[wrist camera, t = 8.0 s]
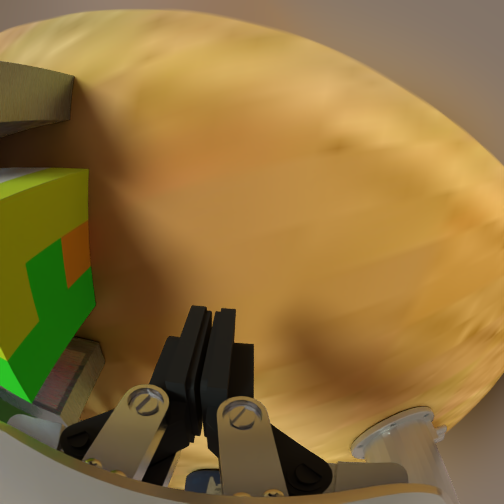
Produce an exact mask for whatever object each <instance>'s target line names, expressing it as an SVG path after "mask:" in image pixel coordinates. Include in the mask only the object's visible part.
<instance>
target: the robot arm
mask: <svg viewBox="0 0 504 504" xmlns="http://www.w3.org/2000/svg"><path fill="white" fill-rule="evenodd" d="M235 316H236V309H226V308H221V312H218V311H216V312H215V316H214V321H213V326H212V311H207V307H204V306H194V305H192V306H191V309H190V312H189V314H188V317H187V320H186V323H185V325H184V328H183V331H182V334H181V336H180V337H174V336H169V337H168V338H167V340H166V343H165V345H164V348H163V350H162V353H161V355H160V357H159V360H158V362H157V365H156V367H155V370H154V373H153V375H152V378H151V380H150V383H149V384H142V385H138V386H134V387H133V388H131V389H129V390H128V391H127V392H126V393H125V394H124V396H123V397H122V399H121V400H120V402H119V403H118V405H117V407H116V408H115V409H113V410H110V411H108V412H105V413H103V414H100V415H97V416H94V417H92V418H89V419H86V420H83V421H81V422H78V423H75V424H72V425H70V426H68V427H65V426H64V425H63V424H62V423H57V422H52V421H47V420H43V419H39V418H35V417H31V416H27V415H23V414H17V415H14V416H12V417H11V418H10V419H9V420H8V422H7V424H6V423H4V422H2V421H0V504H460V502H459V500H458V497H457V494H456V492H455V489H454V486H453V484H452V481H451V479H450V476H449V474H448V472H447V469H446V467H445V465H444V462H443V460H442V458H441V455H440V453H439V451H438V448H437V446H436V444H435V443H437V442H439V441H442V440H443V439H444V436H445V434H444V433H445V432H446V430H447V427H446V425H441V426H439V427H437V428H434V426H433V424H432V421H433V419H434V414H433V412H432V410H431V408H429V407H416V408H412V409H409V410H406V411H403V412H400V413H398V414H396V415H393V416H391V417H389V418H387V419H385V420H383V421H382V422H380V423H378V424H376V425H374V426H373V427H371V428H370V429H368V430H367V431H365V432H364V433H363V434H361V435H360V436H359V437H358V438H357V439H356V440H355V441H354V442H353V444H352V446H351V453H352V456H354V457H355V458H358V459H365V460H366V463H359V462H337V464H333V463H327V462H325V461H324V460H323V459H321V458H320V457H318V456H317V455H315V454H314V453H312V452H310V451H309V450H307V449H306V448H304V447H303V446H301V445H300V444H298V443H297V442H296V441H294V440H293V439H291V438H290V437H288V436H287V435H286V434H284V433H283V432H281V431H280V430H279V429H277V428H276V427H275V426H273V425H272V424H270V420H269V416H268V412H267V410H266V408H265V406H264V405H263V404H262V403H261V402H259V401H257V400H256V399H254V344H244V343H234V334H235ZM202 423H203V427H204V436H205V437H207V443H208V449H209V450H210V451H211V452H213V453H214V454H215V455H216V456H217V457H218V461H219V472H220V481H221V490H222V495H214V494H205V493H197V492H190V491H184V490H178V489H173V488H168V484H169V482H170V479H171V477H172V474H173V472H174V469H175V467H176V464H177V462H178V459H179V457H180V454H181V450H182V449H184V448H185V447H187V446H189V443H190V442H191V443H194V438H195V436H200V435H201V429H202Z"/></svg>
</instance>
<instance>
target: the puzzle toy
mask: <svg viewBox="0 0 504 504" xmlns="http://www.w3.org/2000/svg"><path fill="white" fill-rule="evenodd" d="M88 178H89V169H79V168H0V386H2V387H4V388H5V389H7V390H8V391H10V392H12V393H13V394H15V395H17V396H19V397H20V398H22V399H24V400H26V401H28V402H29V403H31V404H32V402H33V401H34V399H35V397H36V395H37V393H38V392H39V390H40V388H41V387H42V385H43V383H44V382H45V380H46V378H47V377H48V375H49V373H50V372H51V370H52V368H53V367H54V365H55V364H56V362H57V361H58V359H59V357H60V356H61V354H62V353H63V351H64V350H65V348H66V347H67V345H68V344H69V342H70V341H71V339H72V338H73V336H74V335H75V333H76V332H77V331H78V329H79V328H80V326H81V325H82V324H83V322H84V321H85V319H86V318H87V317H88V315H89V314H90V312H91V311H92V310H93V308H94V307H95V306H96V302H95V296H94V288H93V280H92V271H91V260H90V247H89V228H88Z"/></svg>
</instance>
